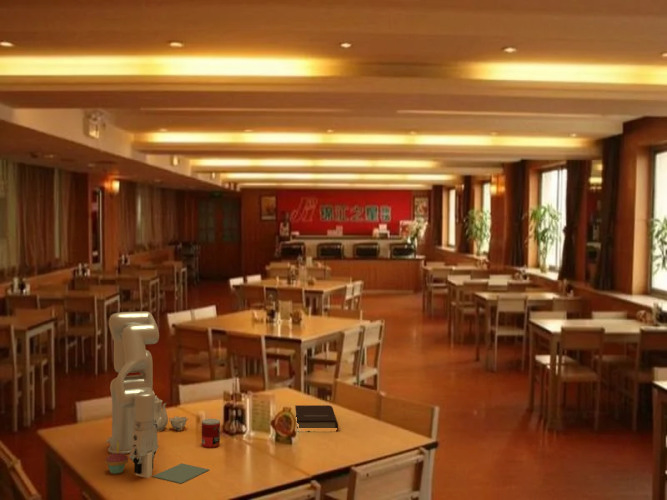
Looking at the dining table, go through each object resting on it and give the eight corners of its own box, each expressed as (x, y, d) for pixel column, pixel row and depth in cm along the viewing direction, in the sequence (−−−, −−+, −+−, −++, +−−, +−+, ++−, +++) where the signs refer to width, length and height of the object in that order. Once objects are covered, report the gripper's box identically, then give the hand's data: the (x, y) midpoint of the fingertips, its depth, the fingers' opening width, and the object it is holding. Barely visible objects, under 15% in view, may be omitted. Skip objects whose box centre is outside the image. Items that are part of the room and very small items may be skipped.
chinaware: (193, 432, 336) (196, 397, 336) (167, 437, 322) (171, 400, 322) (152, 422, 351) (155, 389, 352) (126, 426, 337) (129, 391, 338)
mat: (152, 477, 271) (152, 476, 271) (181, 464, 286) (181, 463, 286) (181, 483, 265) (181, 482, 264) (209, 470, 280) (209, 469, 280)
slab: (135, 475, 273) (135, 449, 272) (140, 473, 275) (140, 447, 275) (147, 478, 270) (147, 452, 270) (152, 476, 272) (152, 450, 272)
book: (337, 432, 336) (338, 420, 335) (296, 432, 334) (297, 420, 334) (332, 416, 364) (333, 405, 363) (295, 416, 362) (295, 405, 362)
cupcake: (108, 467, 280) (108, 438, 280) (130, 467, 281) (130, 437, 280) (103, 475, 272) (103, 444, 271) (125, 475, 272) (125, 444, 272)
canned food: (216, 449, 306) (216, 423, 306) (198, 447, 308) (199, 422, 308) (222, 443, 314) (222, 419, 314) (205, 442, 316) (205, 417, 315)
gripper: (135, 431, 262) (135, 479, 263) (166, 420, 278) (166, 466, 278) (120, 428, 266) (120, 475, 267) (152, 417, 281) (151, 462, 282)
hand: (143, 470), depth 272 cm, fingers open, 5 cm apart
